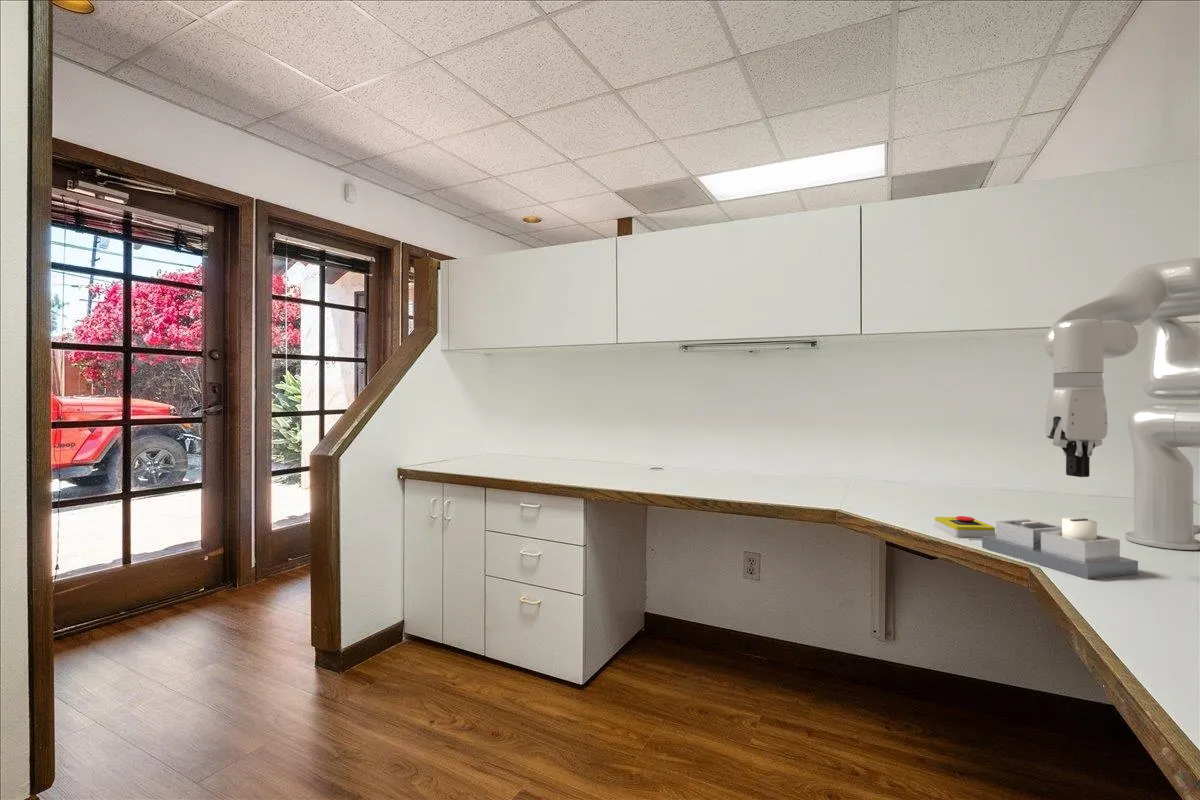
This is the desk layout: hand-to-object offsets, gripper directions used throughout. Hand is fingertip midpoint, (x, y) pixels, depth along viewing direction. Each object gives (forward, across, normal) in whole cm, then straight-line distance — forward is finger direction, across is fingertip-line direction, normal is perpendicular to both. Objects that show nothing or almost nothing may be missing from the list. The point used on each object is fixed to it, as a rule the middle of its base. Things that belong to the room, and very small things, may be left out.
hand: (1077, 475), depth 109 cm
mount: (+18, -1, -5) cm, 19 cm away
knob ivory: (+15, -1, 0) cm, 15 cm away
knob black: (+18, -1, -10) cm, 20 cm away
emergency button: (+19, -2, -29) cm, 34 cm away
